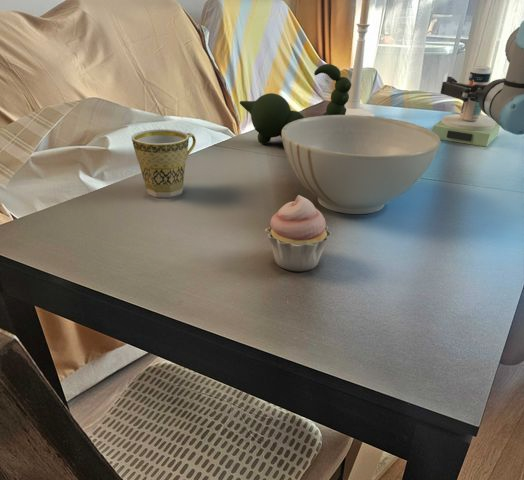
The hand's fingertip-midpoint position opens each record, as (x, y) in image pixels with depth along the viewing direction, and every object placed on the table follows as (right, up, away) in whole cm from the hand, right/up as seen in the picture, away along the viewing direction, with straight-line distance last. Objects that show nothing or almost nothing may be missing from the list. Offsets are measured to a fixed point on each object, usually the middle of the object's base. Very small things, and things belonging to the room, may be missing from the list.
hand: (475, 83), depth 128 cm
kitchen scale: (-1, -11, +5) cm, 12 cm away
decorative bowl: (-38, -40, -34) cm, 65 cm away
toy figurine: (-47, -18, -5) cm, 51 cm away
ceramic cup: (-71, -37, -31) cm, 86 cm away
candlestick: (-28, +1, +20) cm, 34 cm away
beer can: (-1, -8, +3) cm, 9 cm away
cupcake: (-49, -55, -54) cm, 91 cm away
